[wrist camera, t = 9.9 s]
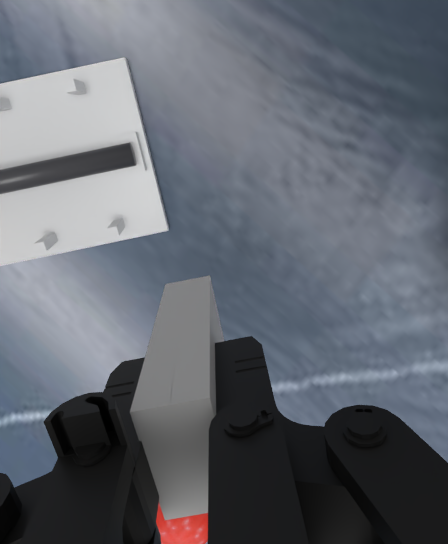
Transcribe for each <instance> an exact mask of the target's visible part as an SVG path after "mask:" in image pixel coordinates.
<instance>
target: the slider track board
mask: <svg viewBox="0 0 448 544" xmlns="http://www.w3.org/2000/svg"><path fill="white" fill-rule="evenodd" d="M168 230H169V225H168V221H167V217H166V213H165V209H164V205H163V201H162V197H161V193H160V189H159V185H158V181H157V177H156V173H155V169H154V165H153V161H152V157H151V153H150V149H149V145H148V141H147V137H146V133H145V129H144V125H143V121H142V117H141V113H140V109H139V105H138V101H137V97H136V93H135V89H134V85H133V81H132V77H131V73H130V68H129V64H128V60H127V59H126V58H125V57H124V58H119V59H115V60H110V61H105V62H101V63H96V64H91V65H86V66H82V67H77V68H72V69H68V70H63V71H58V72H53V73H49V74H44V75H39V76H35V77H30V78H25V79H20V80H16V81H11V82H6V83H2V84H0V266H2V265H7V264H12V263H17V262H21V261H26V260H31V259H36V258H40V257H45V256H50V255H55V254H60V253H64V252H69V251H74V250H79V249H83V248H88V247H93V246H98V245H102V244H107V243H112V242H117V241H121V240H126V239H131V238H136V237H141V236H145V235H150V234H155V233H160V232H164V231H168Z"/></svg>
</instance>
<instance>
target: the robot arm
mask: <svg viewBox="0 0 448 544" xmlns="http://www.w3.org/2000/svg"><path fill="white" fill-rule="evenodd" d="M105 387H106V389H104V391H103V393H102V392H97V393H88V394H84V395H81V396H77V397H75V398H73V399H71V400H69V401H67V402H65V403H63V404H61V405H60V406H59V407H57V408H56V409H55V410H54V411H52V412H51V413H50V414H49V416H48V417H47V418H46V419H45V421H44V424H45V426H46V429H47V431H48V434H49V436H50V439H51V441H52V444H53V446H54V448H55V451H56V453H57V456H58V459H57V462H56V464H55V466H54V468H53V470H52V472H50V473H48V474H46V475H44V476H41V477H39V478H36V479H34V480H32V481H29V482H27V483H24V484H22V485H20V486H17V487H15V488H14V486H13V484H12V482H11V480H10V479H9V477H8V476H7V475H6V474H3V473H0V544H161V535H160V532H159V529H158V526H157V523H156V518H157V511H158V504H160V507H161V510H162V513H163V516H164V519H165V520H170V519H176V518H182V517H187V516H193V515H199V514H205V513H208V544H448V463H447V462H446V461H445V460H444V459H443V458H442V457H441V456H440V455H439V454H438V453H437V452H435V451H434V450H433V449H432V448H431V447H430V446H429V445H428V444H427V443H426V442H425V441H424V440H423V439H421V438H420V437H419V436H418V435H417V434H416V433H415V432H414V431H413V430H412V429H411V428H410V427H408V426H407V425H406V424H405V423H404V422H403V421H402V420H401V419H400V418H399V417H397V416H396V415H394V414H392V413H391V412H389V411H388V410H385V409H382V408H379V407H375V406H369V405H355V406H350V407H345V408H342V409H341V410H339V411H337V412H335V413H333V414H332V415H331V416H330V418H329V419H328V420H327V421H326V423H325V427H322V426H309V425H303V424H299V423H296V422H293V421H291V420H289V419H287V418H286V417H284V416H283V415H282V414H281V413H280V412H279V411H278V409H277V407H276V404H275V400H274V396H273V392H272V387H271V383H270V379H269V374H268V370H267V366H266V361H265V357H264V353H263V348H262V344H260V343H259V342H258V341H257V340H256V339H254V338H253V337H252V336H250V337H244V338H239V339H234V340H228V341H224V338H223V333H222V329H221V324H220V319H219V315H218V310H217V306H216V301H215V296H214V292H213V287H212V283H211V278H210V276H205V277H200V278H195V279H189V280H184V281H179V282H174V283H169V284H165V288H164V291H163V295H162V299H161V302H160V306H159V309H158V313H157V316H156V320H155V324H154V327H153V331H152V334H151V338H150V342H149V345H148V349H147V352H146V356H145V358H140V359H134V360H129V361H124V362H122V363H121V364H120V365H119V366H118V367H117V368H116V369H115V370H114V371H113V372H112V373H111V374H110V376H109V379H108V381H107V384H106V386H105Z"/></svg>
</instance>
